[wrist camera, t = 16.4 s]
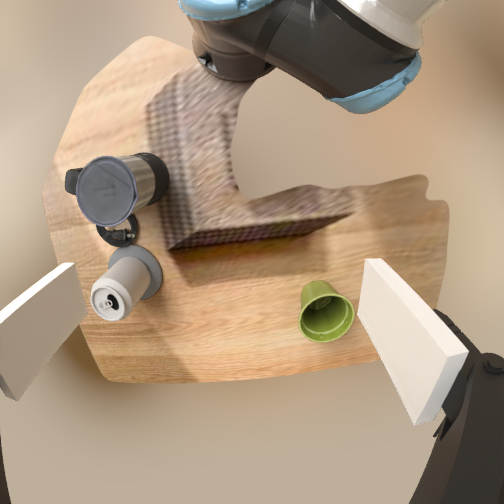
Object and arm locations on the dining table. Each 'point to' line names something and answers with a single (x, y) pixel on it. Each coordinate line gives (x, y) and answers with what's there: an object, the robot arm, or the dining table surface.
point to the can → (120, 289)
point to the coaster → (148, 261)
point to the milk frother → (117, 191)
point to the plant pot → (324, 313)
